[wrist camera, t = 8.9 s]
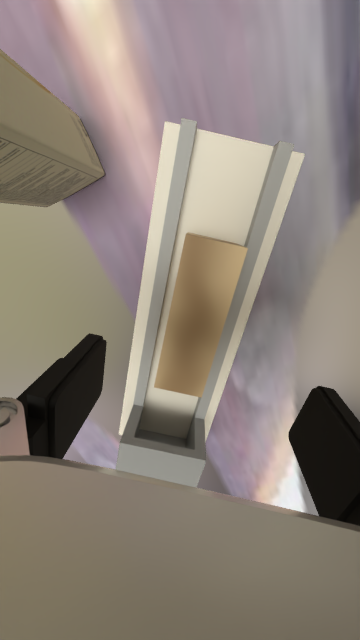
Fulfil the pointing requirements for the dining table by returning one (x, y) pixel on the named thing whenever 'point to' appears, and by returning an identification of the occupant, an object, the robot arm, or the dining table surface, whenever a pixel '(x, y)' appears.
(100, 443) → the dining table surface
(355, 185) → the dining table surface
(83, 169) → the skincare box
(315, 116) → the dining table surface
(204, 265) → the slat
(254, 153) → the board
